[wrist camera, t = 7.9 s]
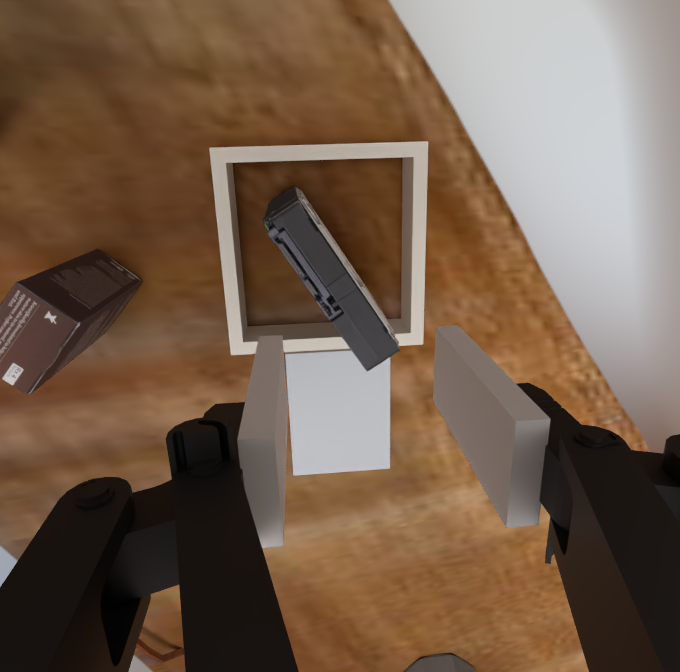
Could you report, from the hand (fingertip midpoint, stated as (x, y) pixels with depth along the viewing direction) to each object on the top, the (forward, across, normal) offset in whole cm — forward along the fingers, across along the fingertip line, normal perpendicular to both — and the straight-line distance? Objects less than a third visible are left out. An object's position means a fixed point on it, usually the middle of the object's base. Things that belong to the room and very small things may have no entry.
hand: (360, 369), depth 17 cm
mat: (+26, +1, -15) cm, 30 cm away
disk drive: (+26, 0, 0) cm, 26 cm away
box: (+26, -18, -3) cm, 32 cm away
